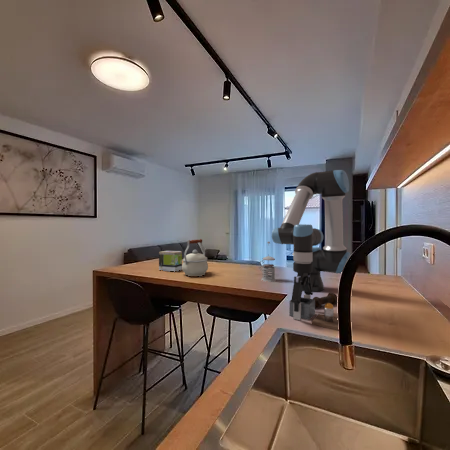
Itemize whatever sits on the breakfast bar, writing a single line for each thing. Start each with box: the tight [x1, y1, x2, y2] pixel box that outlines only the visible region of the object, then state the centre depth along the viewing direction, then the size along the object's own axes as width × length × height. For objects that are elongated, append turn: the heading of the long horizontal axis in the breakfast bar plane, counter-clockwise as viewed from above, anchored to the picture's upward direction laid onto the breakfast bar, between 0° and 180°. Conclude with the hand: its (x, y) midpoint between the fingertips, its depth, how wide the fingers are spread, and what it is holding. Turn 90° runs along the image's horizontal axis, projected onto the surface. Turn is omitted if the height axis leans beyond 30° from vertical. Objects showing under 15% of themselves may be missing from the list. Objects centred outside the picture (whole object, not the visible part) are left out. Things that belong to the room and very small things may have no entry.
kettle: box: [181, 238, 209, 277], centre depth 188 cm, size 25×18×25 cm
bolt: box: [312, 292, 338, 309], centre depth 120 cm, size 6×5×15 cm
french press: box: [258, 241, 277, 283], centre depth 171 cm, size 10×12×25 cm
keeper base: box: [311, 313, 339, 331], centre depth 100 cm, size 10×10×1 cm
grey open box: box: [288, 296, 316, 321], centre depth 108 cm, size 8×8×6 cm
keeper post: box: [323, 303, 334, 322], centre depth 100 cm, size 3×3×7 cm
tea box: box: [158, 250, 183, 273], centre depth 203 cm, size 15×10×15 cm
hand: (302, 314), depth 108 cm, fingers open, 12 cm apart
